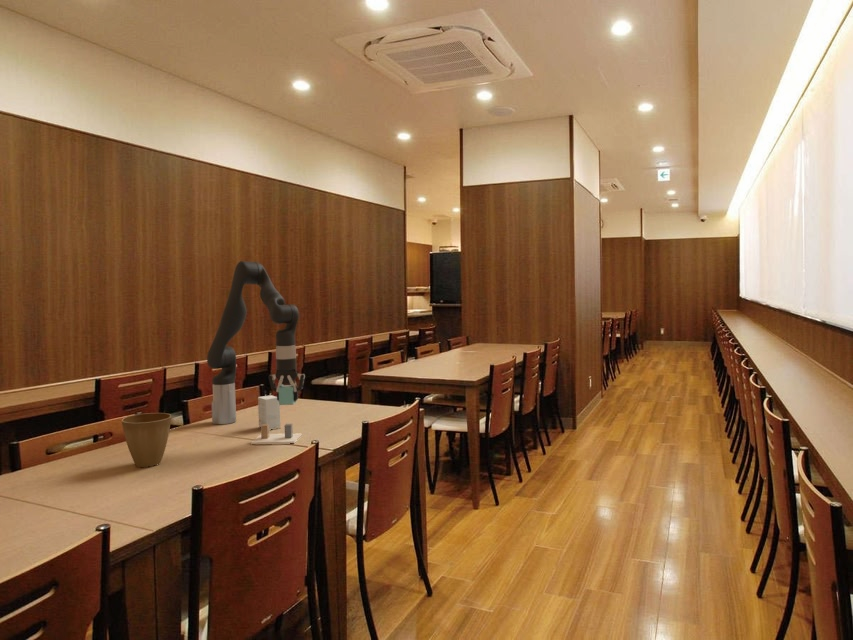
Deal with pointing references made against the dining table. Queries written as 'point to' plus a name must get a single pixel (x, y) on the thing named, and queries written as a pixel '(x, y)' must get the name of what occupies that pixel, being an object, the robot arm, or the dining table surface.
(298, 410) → the dining table surface
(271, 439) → the post board
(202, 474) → the dining table surface
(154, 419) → the plant pot
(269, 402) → the small box
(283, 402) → the teal block
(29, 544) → the dining table surface
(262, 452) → the dining table surface
